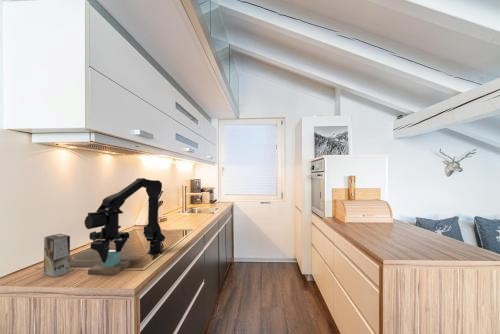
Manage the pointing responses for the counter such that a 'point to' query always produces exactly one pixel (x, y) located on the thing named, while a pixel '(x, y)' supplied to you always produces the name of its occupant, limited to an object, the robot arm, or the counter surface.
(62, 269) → the coffee box
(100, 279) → the counter surface
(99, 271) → the walnut base
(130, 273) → the counter surface
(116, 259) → the teal block
